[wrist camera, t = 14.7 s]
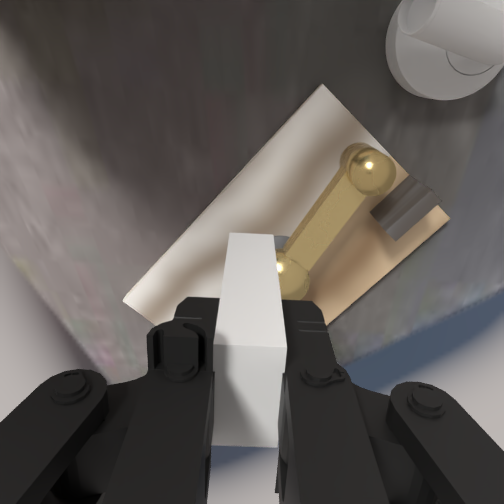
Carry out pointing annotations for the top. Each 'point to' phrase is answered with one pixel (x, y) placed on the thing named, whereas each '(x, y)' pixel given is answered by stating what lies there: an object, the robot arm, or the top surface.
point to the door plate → (296, 218)
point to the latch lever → (332, 214)
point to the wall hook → (445, 46)
